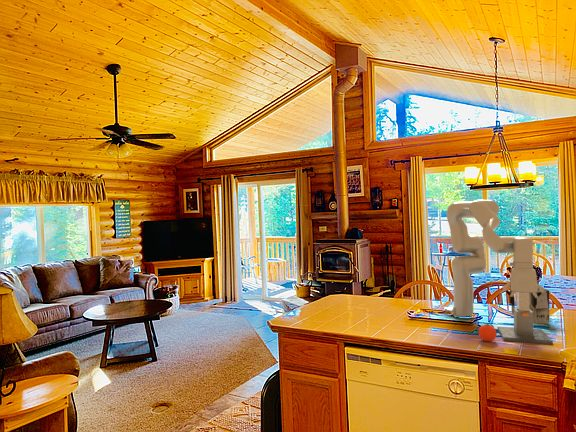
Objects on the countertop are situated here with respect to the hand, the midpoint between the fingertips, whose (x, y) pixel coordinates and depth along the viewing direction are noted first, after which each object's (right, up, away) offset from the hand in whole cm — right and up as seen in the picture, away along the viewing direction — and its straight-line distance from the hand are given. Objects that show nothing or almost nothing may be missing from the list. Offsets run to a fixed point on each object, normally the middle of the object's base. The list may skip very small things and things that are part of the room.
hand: (523, 305), depth 186 cm
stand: (0, -13, 0) cm, 13 cm away
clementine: (-18, -14, -6) cm, 24 cm away
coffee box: (+22, -13, +26) cm, 37 cm away
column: (0, -12, 0) cm, 12 cm away
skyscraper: (+22, -14, +41) cm, 49 cm away
